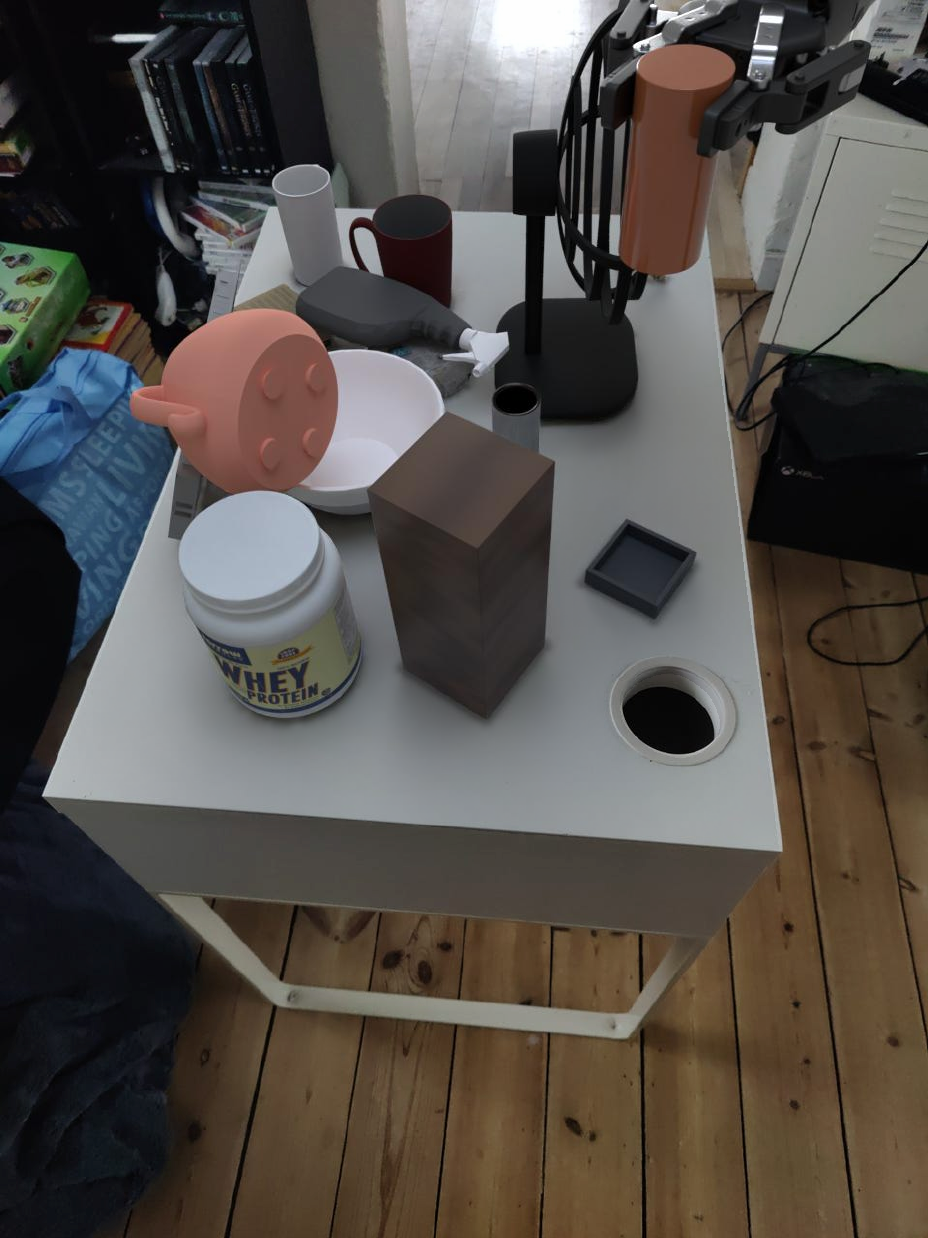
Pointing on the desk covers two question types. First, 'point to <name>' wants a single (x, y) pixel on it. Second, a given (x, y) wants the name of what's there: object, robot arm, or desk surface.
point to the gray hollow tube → (517, 414)
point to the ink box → (281, 307)
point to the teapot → (247, 400)
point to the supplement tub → (271, 603)
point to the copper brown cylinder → (670, 158)
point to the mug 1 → (308, 221)
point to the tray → (640, 568)
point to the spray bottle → (392, 316)
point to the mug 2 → (412, 243)
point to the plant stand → (466, 558)
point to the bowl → (369, 427)
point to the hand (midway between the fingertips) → (656, 122)
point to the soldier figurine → (655, 276)
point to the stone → (432, 362)
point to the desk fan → (572, 265)
